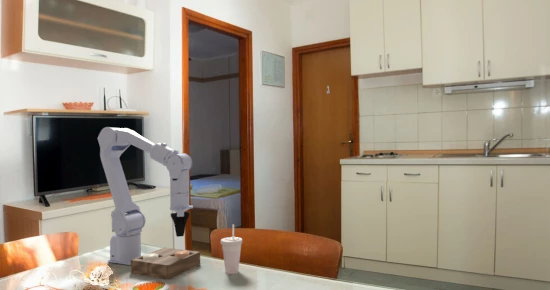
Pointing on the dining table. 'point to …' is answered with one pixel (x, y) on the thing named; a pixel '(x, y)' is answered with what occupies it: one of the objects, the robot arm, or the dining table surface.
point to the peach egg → (182, 254)
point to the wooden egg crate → (165, 264)
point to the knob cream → (150, 256)
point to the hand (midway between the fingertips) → (180, 236)
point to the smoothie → (231, 252)
